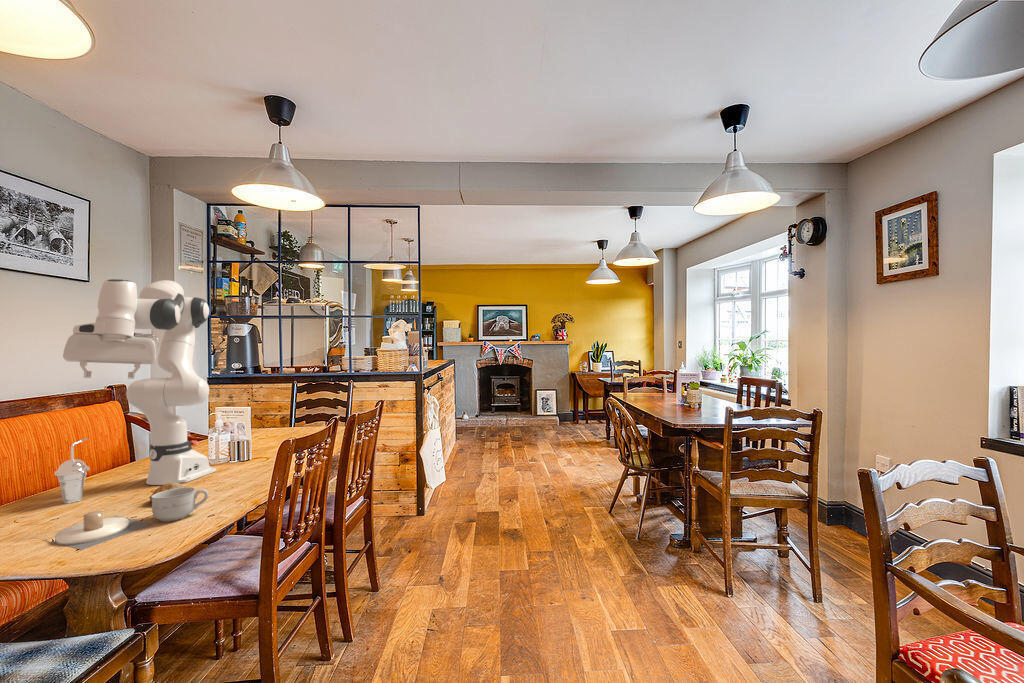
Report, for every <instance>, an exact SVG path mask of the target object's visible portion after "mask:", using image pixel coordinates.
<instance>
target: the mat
mask: <svg viewBox="0 0 1024 683" xmlns="http://www.w3.org/2000/svg"><path fill="white" fill-rule="evenodd" d="M113 517H119V516H117V515H115V516H112V517H110V518H113ZM120 517H121V518H124V517H123V516H120ZM125 518H126V517H125ZM126 519H128V520H129V527H128V528H127V529H125V530H124V531H122V532H120V533H118V534H116V535H113V536H110V537H107V538H104V539H101V540H97V541H92V542H87V543H82V544H73V545H62V544H59V545H60V546H64V547H68V548H73V549H76V550H80V551H83V550H85V549H88V548H91V547H94V546H96V545H100V544H102V543H105V542H108V541H110V540H113V539H116V538H118V537H122V536H125V535H127V534H129V533H133V532H135V531H138V530H141V529H144V528H146V527H147V528H148V527H150V526H151V525H154V523H152V522H148V521H142V520H138V519H132V518H126ZM45 539H46V538H45ZM46 540H47V539H46ZM52 542H53V544H56V545H58V544H57V543H56V542H54V540H53V539H52ZM52 542H51V543H52Z"/></svg>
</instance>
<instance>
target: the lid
mask: <svg viewBox="0 0 1024 683" xmlns="http://www.w3.org/2000/svg"><path fill="white" fill-rule="evenodd" d="M82 517H83V522H79V523H77V524H74V525H71V526H68V527H66V528H63V529H62V530H60V531H58V532H57V533H56V534H55V535H54V536H55V542H56V543H57V544H56V543H55V544H56V545H60V544H62V545H61V546H64V545H73V544H82V543H87V542H92V541H97V540H101V539H104V538H107V537H110V536H113V535H116V534H118V533H120V532H122V531H124V530H125V529H127V528H128V527H129V520H128V519H129V518H128V519H126V517H123V518H121V517H122V516H118V517H114V516H112V517H113V518H111V517H105V518H104V511H103V510H96V511H91V512H88V513H85V514H83V516H82Z"/></svg>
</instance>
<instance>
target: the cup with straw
mask: <svg viewBox="0 0 1024 683" xmlns="http://www.w3.org/2000/svg"><path fill="white" fill-rule="evenodd" d="M88 439H89V438H87V437H85V438H83V439H79V440H77V441H75V442H72V443H71V445H70V459H68V460H66V461H63V462H62V463H61V464H59V466H58V468H57V470H56V471H54V476H56V477H57V480H58V483H59V485H60V493H61V499H62V500H63V501H62V502H63V504H72V503H71V502H74V503H77V502H76V501H78V502H80V501H82V500H83V494H84V489H85V483H86V482H85V481H86V478H87V474H88V473H87V472H89V471H90V469H91V468H90V466H88V465H87V463H86V462H85V461H84V460H82V459H78V458H75V454H74V447H75V446H76V445H78V444H80V443H83V442H85V441H87V440H88Z"/></svg>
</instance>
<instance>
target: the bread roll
mask: <svg viewBox="0 0 1024 683" xmlns="http://www.w3.org/2000/svg"><path fill="white" fill-rule="evenodd" d="M177 488H186V486H185V485H184V484H182V483H174V482H172V483H167V484H164V485H159V487H157V488H156V489H155V490H154V491H153V492H152V494H151V495H150V496H149V504H150V505H151V506H152V498H151V496H152V495H154V494H156V493H159V492H162V491H166V490H171V489H177Z"/></svg>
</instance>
